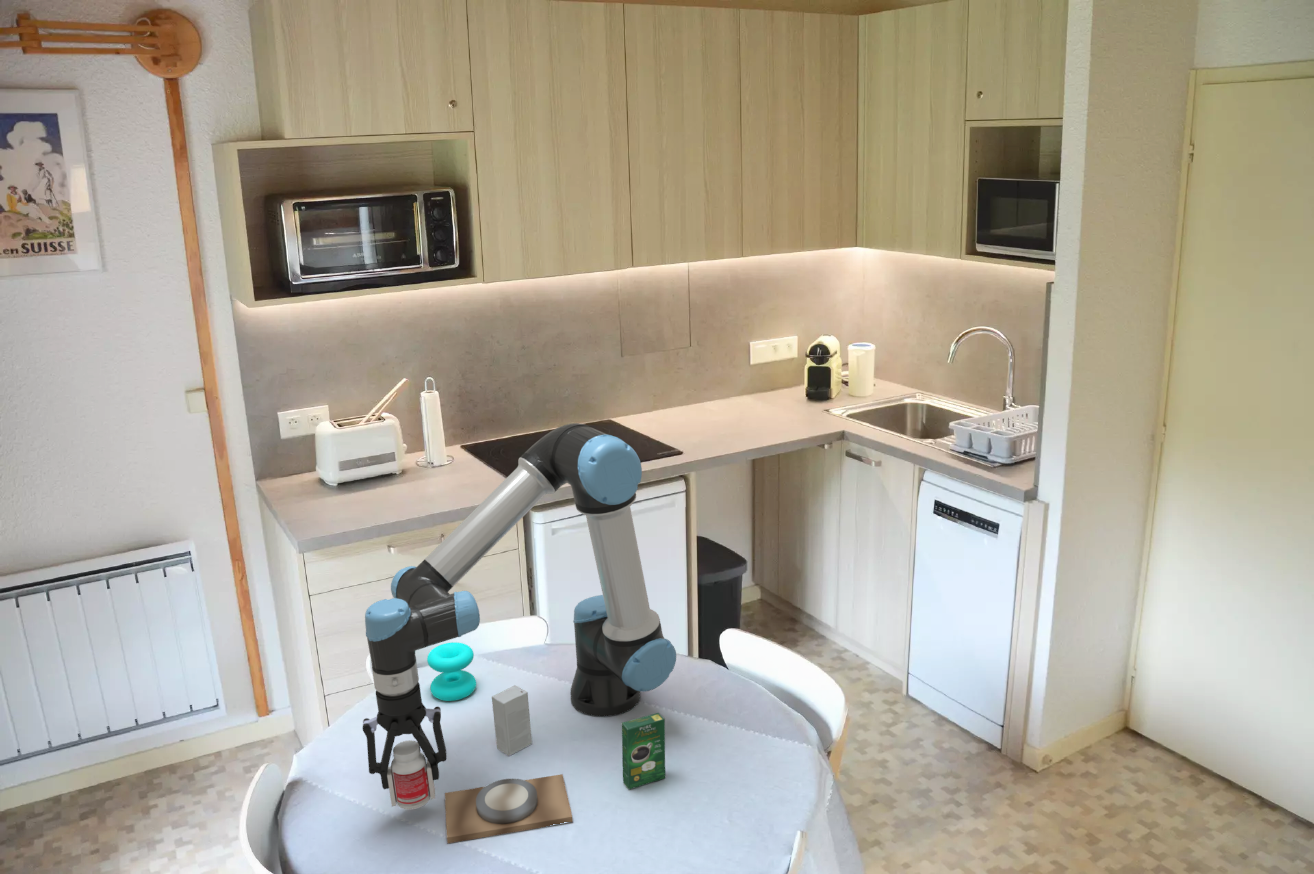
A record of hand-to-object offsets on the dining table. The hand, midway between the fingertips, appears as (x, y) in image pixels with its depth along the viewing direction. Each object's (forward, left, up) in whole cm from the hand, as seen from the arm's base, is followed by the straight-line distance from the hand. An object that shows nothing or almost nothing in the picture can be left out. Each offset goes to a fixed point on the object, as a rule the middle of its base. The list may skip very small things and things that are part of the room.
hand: (413, 797), depth 187 cm
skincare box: (-19, -17, -4) cm, 26 cm away
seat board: (-16, +3, -4) cm, 17 cm away
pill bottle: (0, 0, -1) cm, 1 cm away
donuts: (-8, -42, -4) cm, 43 cm away
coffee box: (-42, +1, -4) cm, 43 cm away
